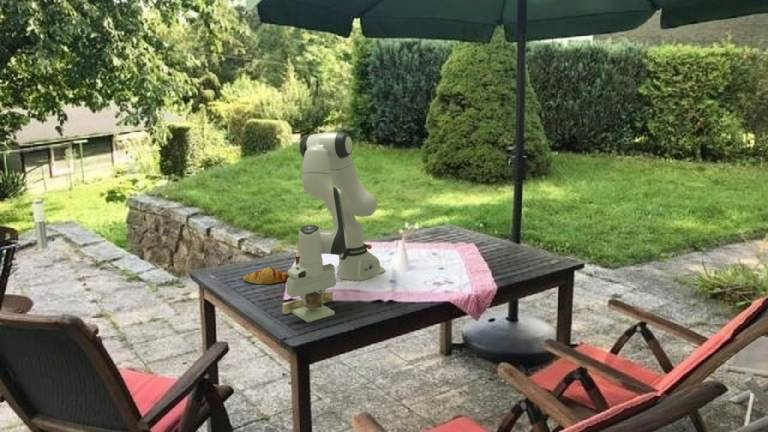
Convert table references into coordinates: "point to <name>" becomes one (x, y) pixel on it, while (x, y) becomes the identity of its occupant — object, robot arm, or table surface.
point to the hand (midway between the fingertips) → (312, 302)
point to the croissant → (266, 276)
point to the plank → (299, 303)
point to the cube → (313, 300)
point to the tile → (313, 313)
